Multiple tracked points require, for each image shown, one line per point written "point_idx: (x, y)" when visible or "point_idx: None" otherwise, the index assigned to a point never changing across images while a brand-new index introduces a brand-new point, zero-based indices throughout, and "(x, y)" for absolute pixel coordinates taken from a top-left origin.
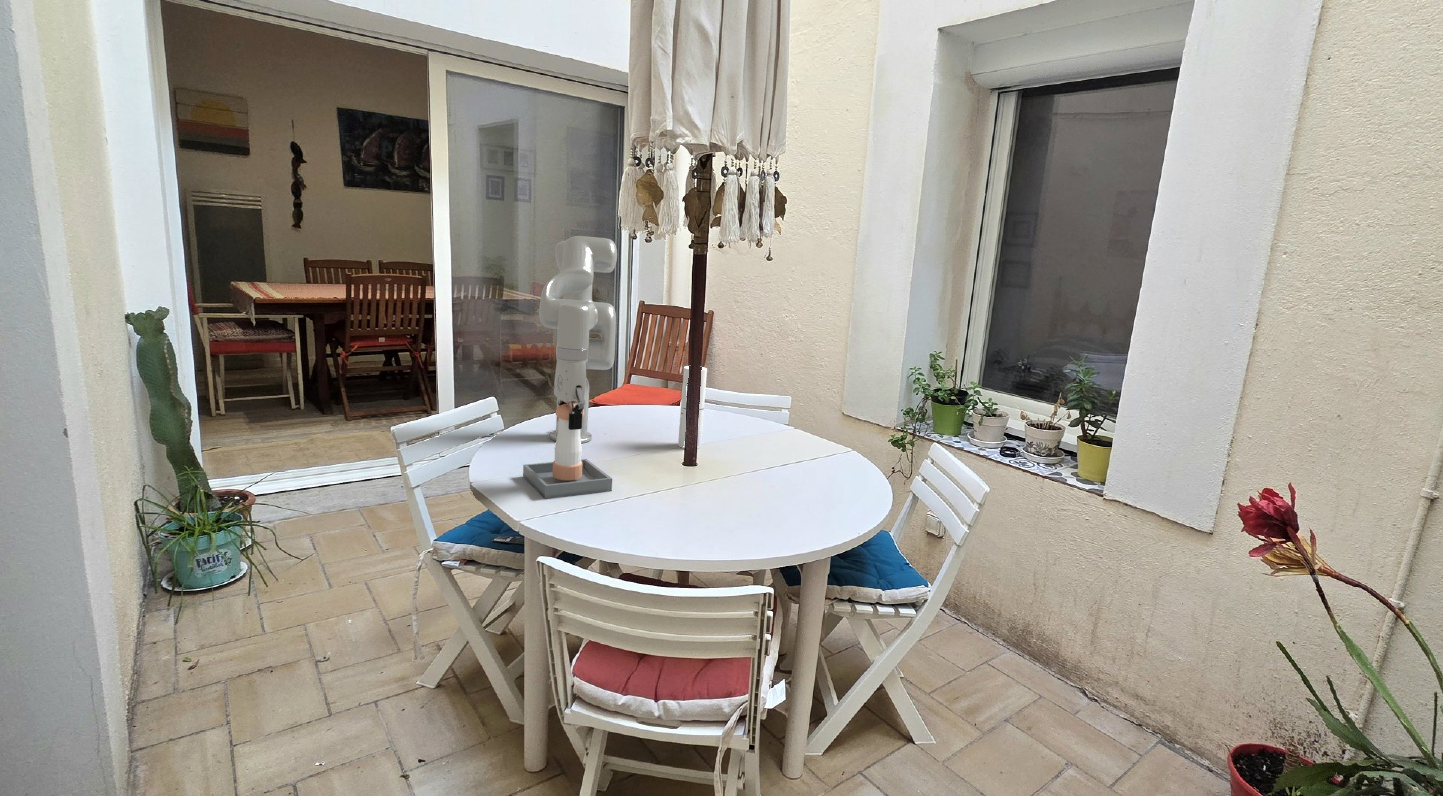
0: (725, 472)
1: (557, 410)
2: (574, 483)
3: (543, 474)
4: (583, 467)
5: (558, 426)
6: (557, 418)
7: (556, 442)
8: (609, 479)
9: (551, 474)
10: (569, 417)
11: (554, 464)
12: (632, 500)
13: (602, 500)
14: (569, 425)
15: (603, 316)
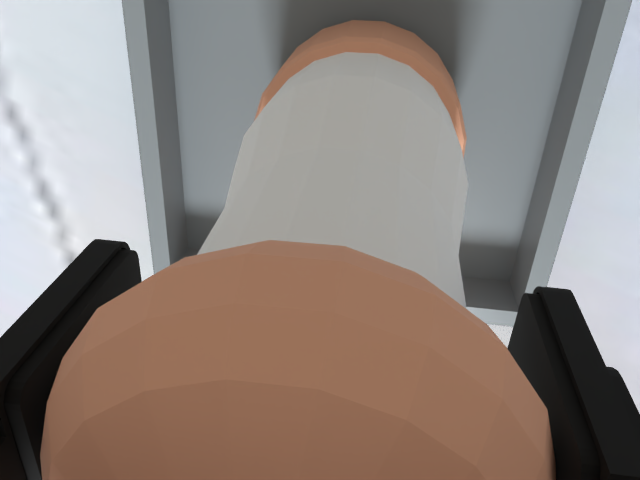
0: None
1: (274, 314)
2: (132, 68)
3: (539, 14)
4: (511, 281)
5: (344, 195)
6: (574, 306)
7: (366, 108)
8: (155, 271)
9: (512, 66)
10: (3, 339)
11: (355, 38)
12: (41, 268)
13: (61, 154)
14: (73, 265)
15: None
